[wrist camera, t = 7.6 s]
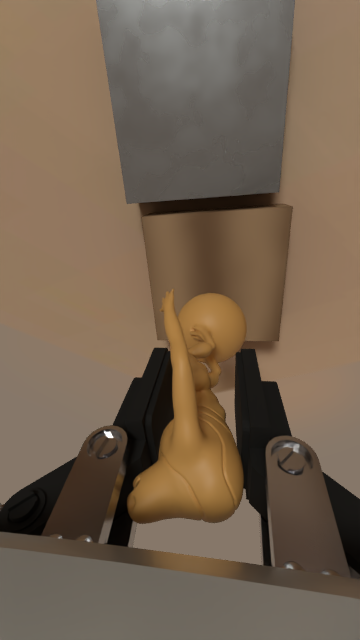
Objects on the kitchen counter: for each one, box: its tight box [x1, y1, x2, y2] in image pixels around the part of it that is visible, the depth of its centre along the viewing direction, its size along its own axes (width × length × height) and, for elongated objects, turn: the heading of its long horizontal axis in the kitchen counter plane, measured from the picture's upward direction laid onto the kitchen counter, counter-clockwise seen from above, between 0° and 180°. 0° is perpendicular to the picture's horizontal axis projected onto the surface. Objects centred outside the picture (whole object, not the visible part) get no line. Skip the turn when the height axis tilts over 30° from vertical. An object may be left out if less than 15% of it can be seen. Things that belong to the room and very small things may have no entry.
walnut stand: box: [141, 204, 293, 341], centre depth 23 cm, size 11×11×3 cm
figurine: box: [127, 288, 247, 524], centre depth 11 cm, size 8×6×12 cm
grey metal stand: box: [96, 0, 295, 204], centre depth 18 cm, size 11×11×3 cm
